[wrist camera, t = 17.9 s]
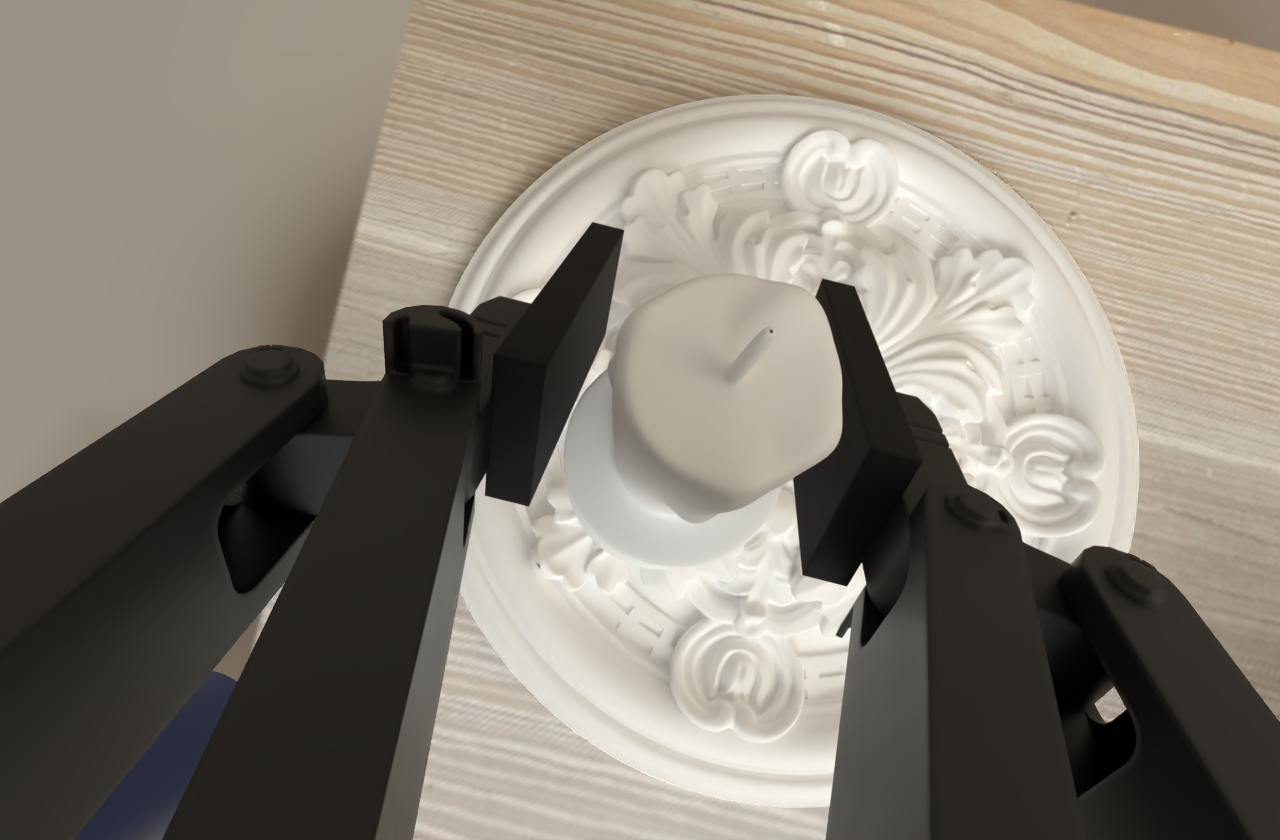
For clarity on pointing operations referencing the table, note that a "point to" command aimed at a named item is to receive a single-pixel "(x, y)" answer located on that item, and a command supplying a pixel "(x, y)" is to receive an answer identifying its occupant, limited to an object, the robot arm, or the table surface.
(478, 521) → the ceiling medallion
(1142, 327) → the table surface
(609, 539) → the candle
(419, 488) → the robot arm
